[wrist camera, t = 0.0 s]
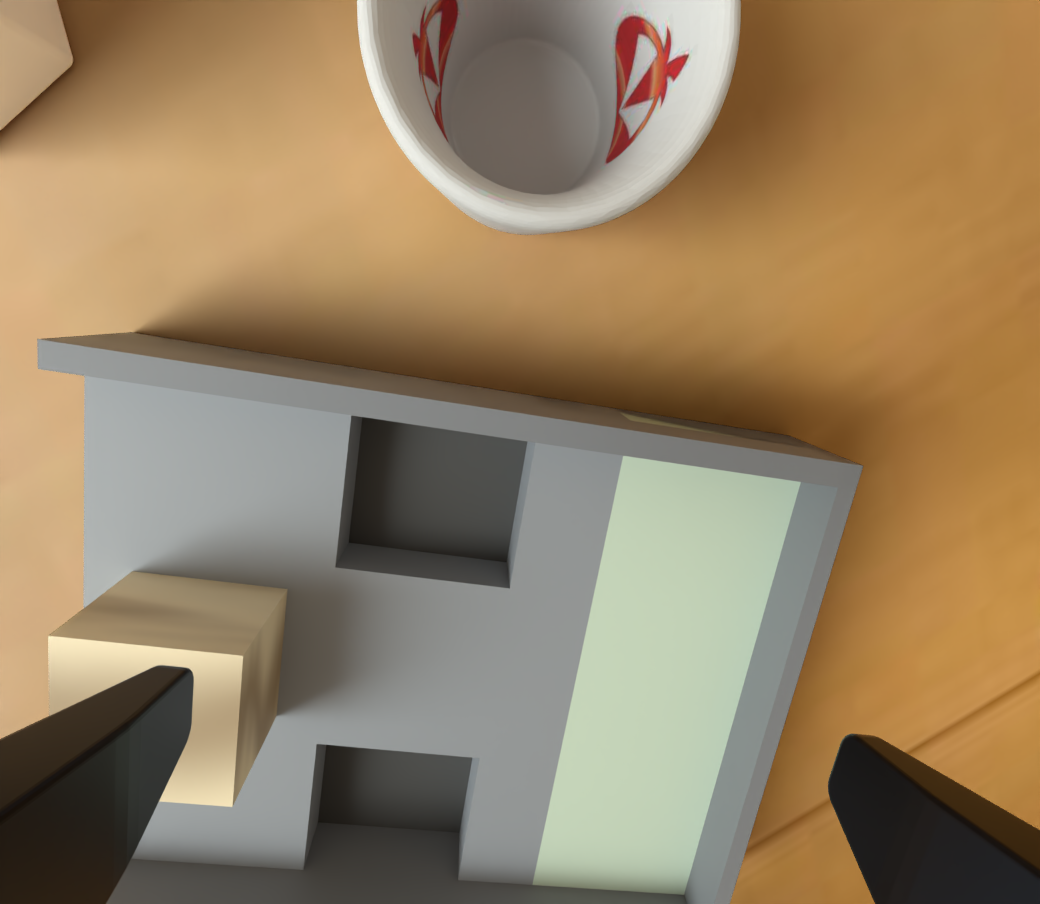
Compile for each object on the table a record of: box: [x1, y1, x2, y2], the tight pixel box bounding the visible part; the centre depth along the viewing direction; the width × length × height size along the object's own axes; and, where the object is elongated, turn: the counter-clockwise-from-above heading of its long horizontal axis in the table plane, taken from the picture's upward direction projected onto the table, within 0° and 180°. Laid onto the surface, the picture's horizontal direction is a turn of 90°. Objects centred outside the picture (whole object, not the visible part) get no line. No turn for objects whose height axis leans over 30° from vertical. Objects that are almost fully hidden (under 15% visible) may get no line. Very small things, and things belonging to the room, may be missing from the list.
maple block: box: [48, 571, 287, 807], centre depth 19 cm, size 5×5×4 cm
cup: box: [357, 0, 741, 235], centre depth 16 cm, size 11×8×8 cm
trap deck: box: [37, 332, 863, 904], centre depth 22 cm, size 20×24×4 cm
